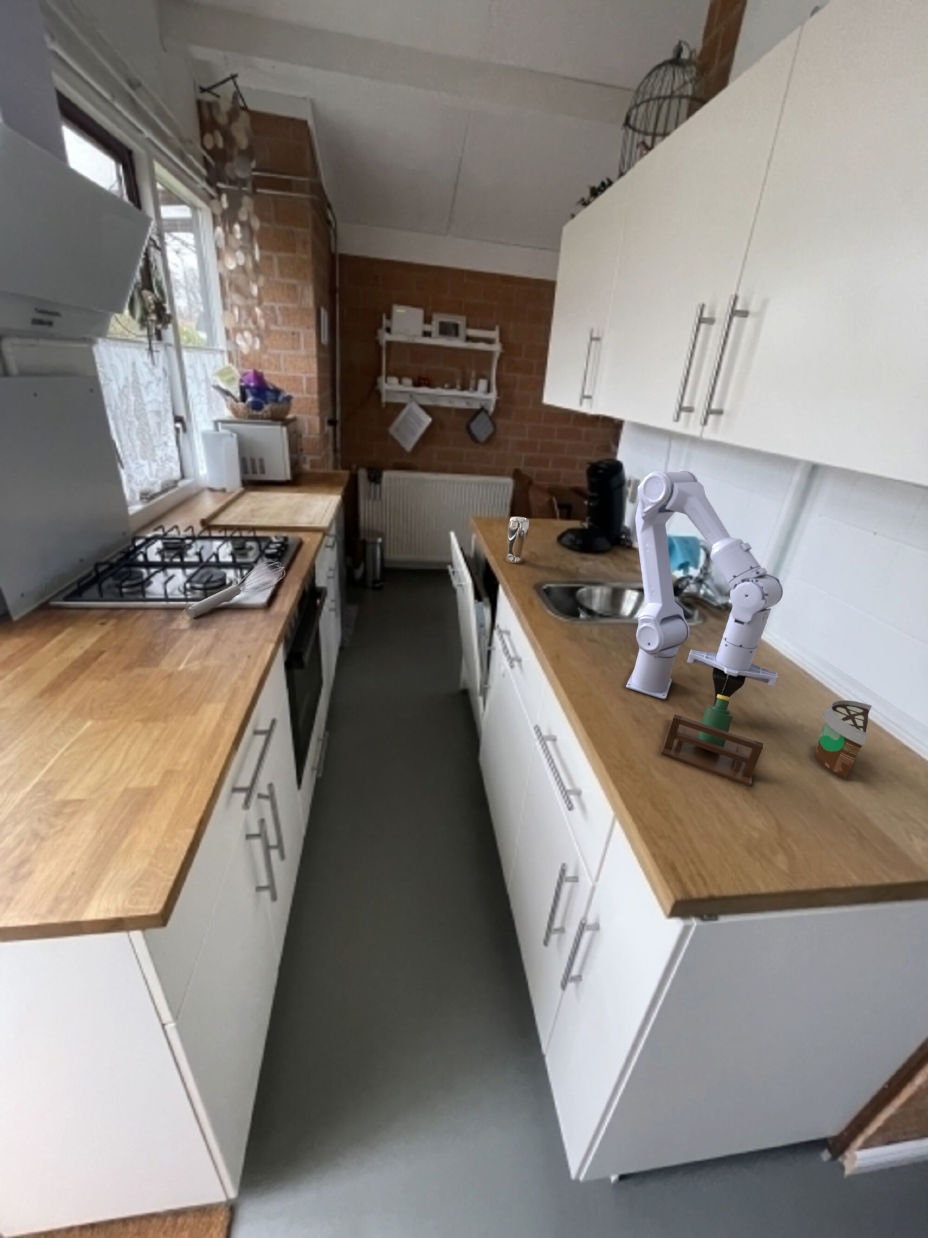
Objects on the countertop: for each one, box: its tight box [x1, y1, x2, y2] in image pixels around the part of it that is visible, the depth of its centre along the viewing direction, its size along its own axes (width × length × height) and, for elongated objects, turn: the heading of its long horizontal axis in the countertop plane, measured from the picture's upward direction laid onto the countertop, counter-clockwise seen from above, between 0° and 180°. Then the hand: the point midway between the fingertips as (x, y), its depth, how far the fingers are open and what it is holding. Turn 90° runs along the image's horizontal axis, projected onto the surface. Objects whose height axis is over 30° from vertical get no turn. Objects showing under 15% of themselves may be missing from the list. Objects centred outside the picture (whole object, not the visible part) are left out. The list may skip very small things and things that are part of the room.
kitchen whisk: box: [180, 560, 286, 621], centre depth 130 cm, size 6×34×6 cm, turn 159°
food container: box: [813, 699, 873, 780], centre depth 89 cm, size 12×6×10 cm, turn 141°
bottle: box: [697, 694, 734, 747], centre depth 89 cm, size 4×4×9 cm
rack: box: [660, 713, 764, 787], centre depth 88 cm, size 11×14×7 cm
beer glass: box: [504, 516, 530, 564], centre depth 177 cm, size 7×7×15 cm
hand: (717, 705), depth 96 cm, fingers closed
